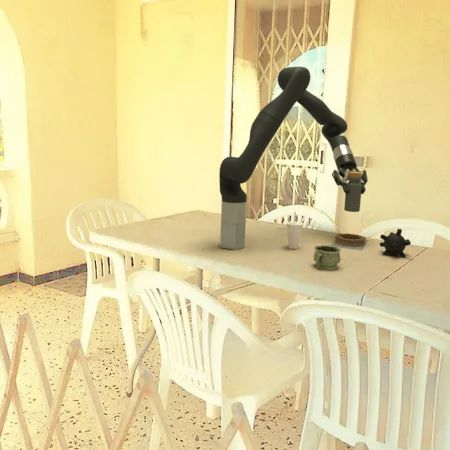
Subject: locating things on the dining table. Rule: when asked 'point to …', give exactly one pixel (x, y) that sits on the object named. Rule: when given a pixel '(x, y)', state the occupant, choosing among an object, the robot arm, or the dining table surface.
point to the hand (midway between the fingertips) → (355, 192)
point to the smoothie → (294, 233)
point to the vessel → (327, 257)
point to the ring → (350, 240)
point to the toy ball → (394, 243)
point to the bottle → (353, 192)
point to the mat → (349, 246)
